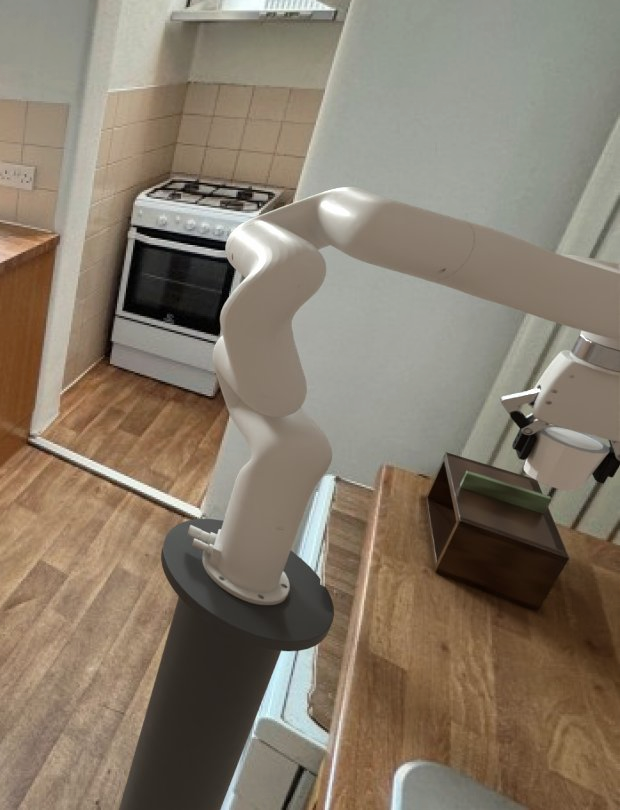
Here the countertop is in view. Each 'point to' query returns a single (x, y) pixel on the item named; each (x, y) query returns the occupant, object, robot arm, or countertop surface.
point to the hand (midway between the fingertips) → (557, 465)
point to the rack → (494, 531)
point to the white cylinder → (564, 457)
